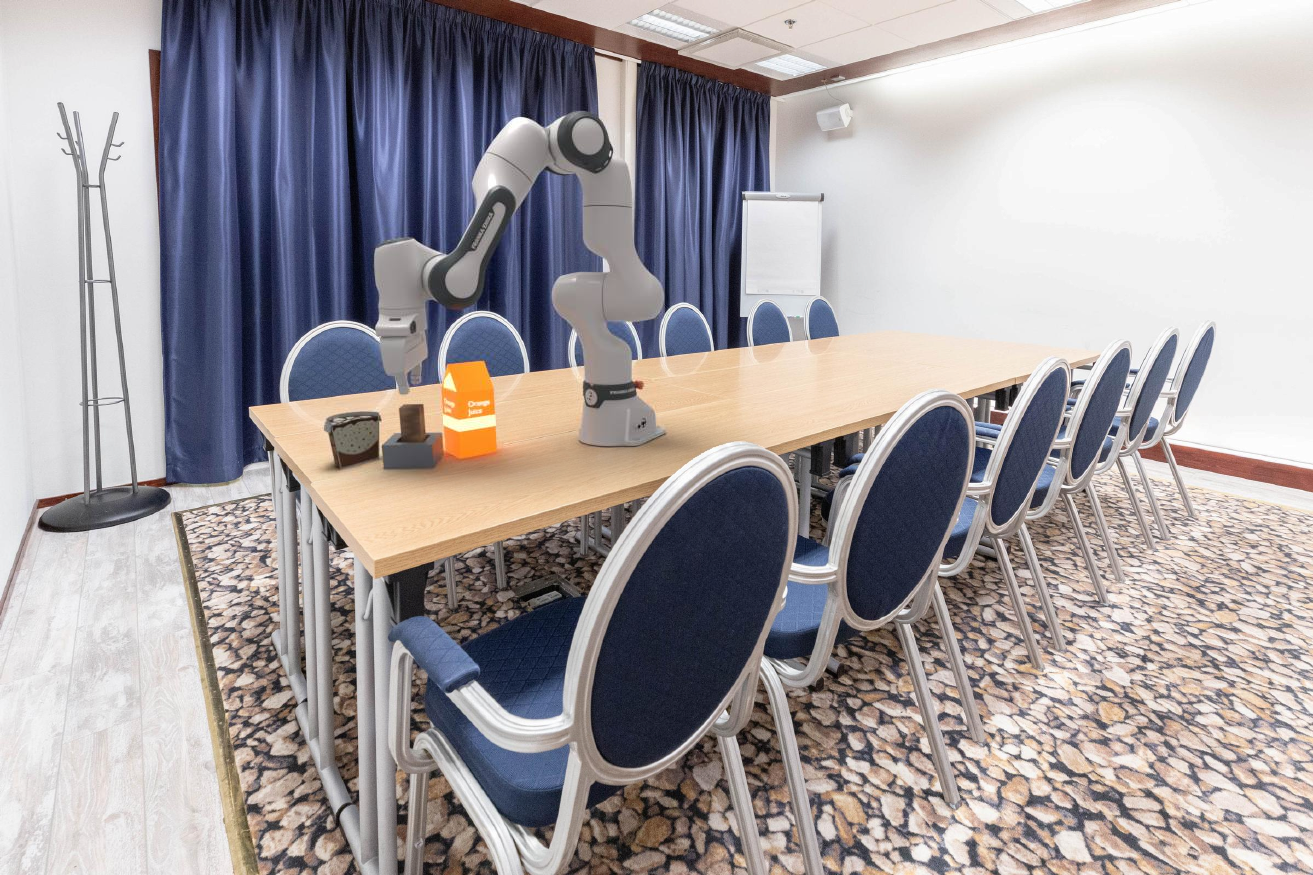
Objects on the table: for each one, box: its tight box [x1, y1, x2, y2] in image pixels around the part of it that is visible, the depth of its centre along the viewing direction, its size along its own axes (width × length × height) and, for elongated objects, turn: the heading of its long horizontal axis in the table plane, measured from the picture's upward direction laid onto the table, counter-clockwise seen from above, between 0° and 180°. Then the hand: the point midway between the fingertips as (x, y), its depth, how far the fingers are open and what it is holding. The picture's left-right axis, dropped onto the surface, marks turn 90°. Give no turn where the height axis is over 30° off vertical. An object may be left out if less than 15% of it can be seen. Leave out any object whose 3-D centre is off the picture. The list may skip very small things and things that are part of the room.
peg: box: [398, 403, 427, 442], centre depth 145 cm, size 4×4×12 cm
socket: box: [381, 432, 445, 470], centre depth 146 cm, size 10×10×5 cm
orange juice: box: [440, 360, 498, 459], centre depth 152 cm, size 8×9×20 cm
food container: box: [323, 410, 383, 470], centre depth 145 cm, size 12×6×10 cm, turn 149°
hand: (410, 388), depth 143 cm, fingers open, 8 cm apart
